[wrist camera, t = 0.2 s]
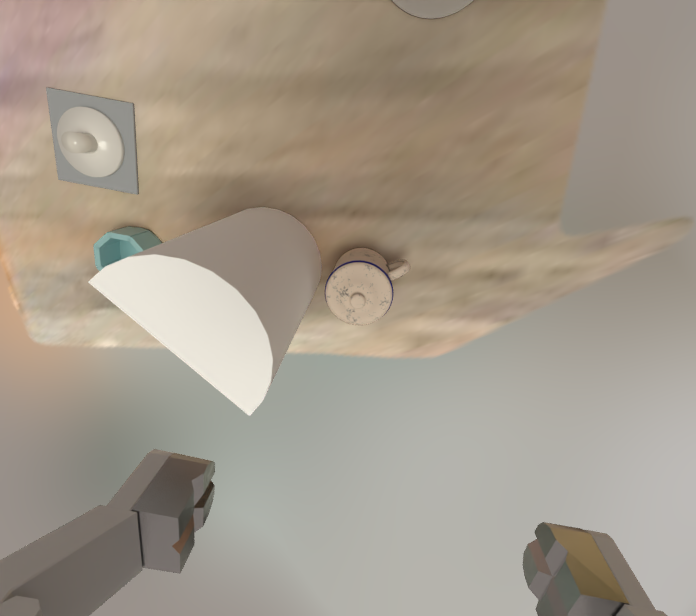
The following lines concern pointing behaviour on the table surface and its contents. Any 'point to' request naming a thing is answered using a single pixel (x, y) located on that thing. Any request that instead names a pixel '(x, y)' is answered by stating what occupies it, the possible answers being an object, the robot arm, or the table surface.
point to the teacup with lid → (362, 286)
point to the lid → (90, 142)
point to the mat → (125, 123)
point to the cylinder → (223, 296)
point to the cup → (122, 245)
